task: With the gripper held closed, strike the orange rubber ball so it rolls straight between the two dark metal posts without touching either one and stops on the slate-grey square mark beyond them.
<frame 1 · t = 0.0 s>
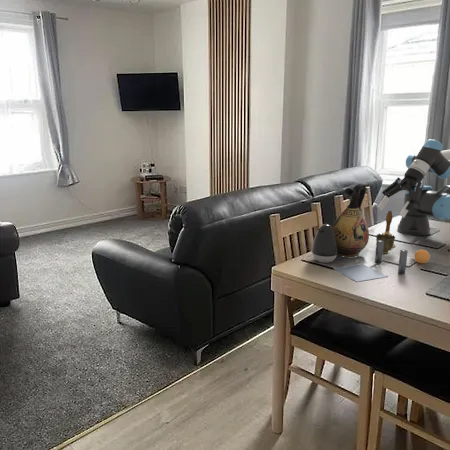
hand: (390, 212, 196), 15 cm above the table, tool tilted 35°, fingers open, 13 cm apart
gate post 2: (401, 273, 167), on the table
gate post 1: (378, 262, 178), on the table
hand bell: (385, 245, 200), on the table
grey smart speaker: (323, 261, 180), on the table
cup: (383, 254, 189), on the table
ceramic jug: (349, 254, 188), on the table
ball: (421, 256, 177), on the table
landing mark: (359, 272, 167), on the table
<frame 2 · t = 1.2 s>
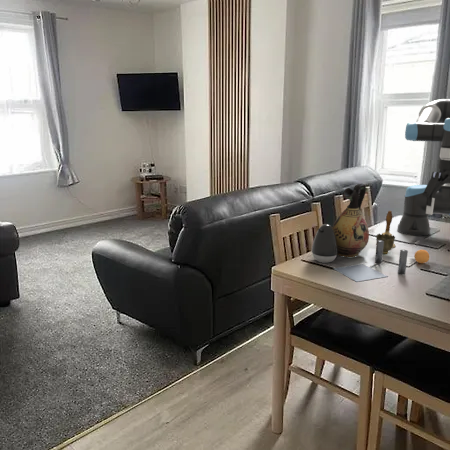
hand: (442, 213, 177), 19 cm above the table, tool pointing down, fingers open, 13 cm apart
nothing on the table moved.
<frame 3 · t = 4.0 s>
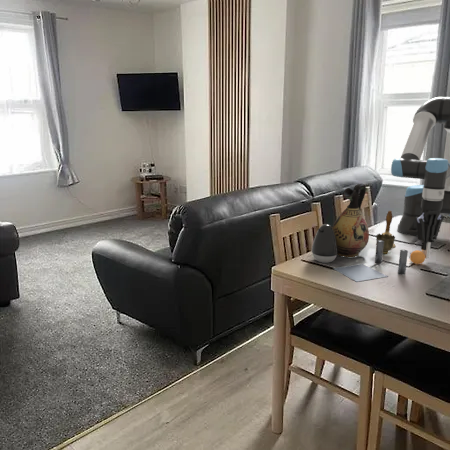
hand: (424, 257, 178), 2 cm above the table, tool pointing down, fingers closed
ball: (417, 257, 176), on the table
everything else where it was.
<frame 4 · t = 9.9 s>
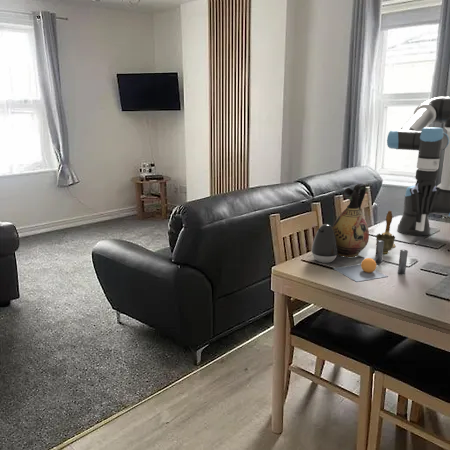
hand: (419, 230, 173), 14 cm above the table, tool pointing down, fingers closed
ball: (368, 265, 167), on the table
everything else where it was.
at the end: ball 3.3 cm from the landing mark (horizontally); ball never touched gate post 2; ball never touched gate post 1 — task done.
